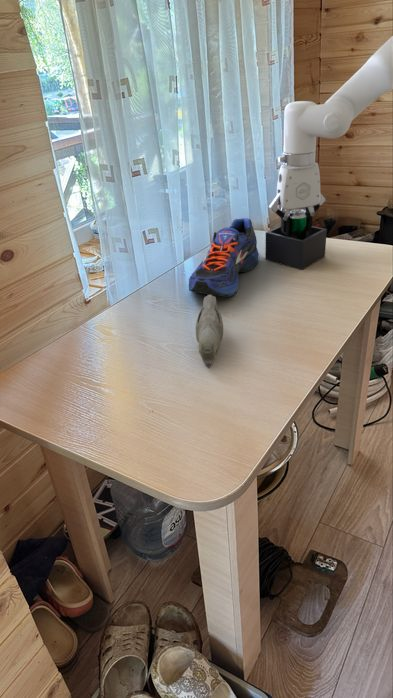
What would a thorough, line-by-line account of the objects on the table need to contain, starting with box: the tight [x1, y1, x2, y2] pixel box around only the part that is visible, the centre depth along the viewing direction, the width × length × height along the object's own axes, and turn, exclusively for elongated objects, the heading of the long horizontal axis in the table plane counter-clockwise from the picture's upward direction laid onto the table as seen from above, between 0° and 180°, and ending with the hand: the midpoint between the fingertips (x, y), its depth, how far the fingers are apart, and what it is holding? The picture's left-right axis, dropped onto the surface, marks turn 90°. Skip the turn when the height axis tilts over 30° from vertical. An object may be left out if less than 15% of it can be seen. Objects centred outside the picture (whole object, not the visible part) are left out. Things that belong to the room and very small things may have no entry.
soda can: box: [287, 208, 307, 240], centre depth 133 cm, size 5×5×12 cm
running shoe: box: [188, 217, 260, 298], centre depth 125 cm, size 12×32×13 cm, turn 159°
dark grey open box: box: [265, 224, 328, 271], centre depth 134 cm, size 12×11×8 cm
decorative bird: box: [195, 294, 224, 369], centre depth 100 cm, size 5×16×7 cm, turn 176°
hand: (296, 231), depth 132 cm, fingers closed on soda can, 5 cm apart
